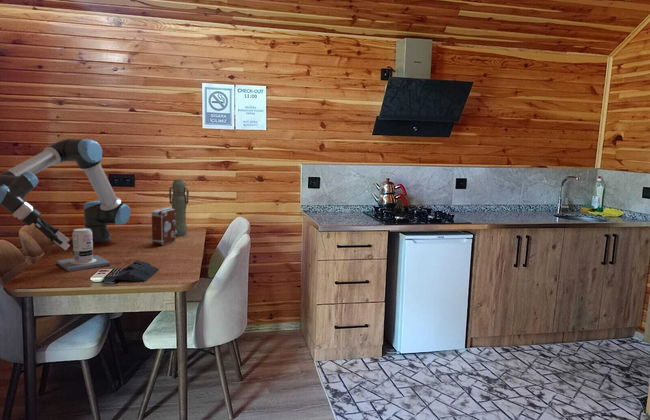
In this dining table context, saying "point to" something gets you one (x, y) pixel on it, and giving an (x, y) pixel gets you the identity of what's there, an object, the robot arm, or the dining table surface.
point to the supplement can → (82, 245)
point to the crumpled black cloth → (137, 272)
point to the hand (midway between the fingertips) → (67, 245)
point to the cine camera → (163, 226)
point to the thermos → (179, 205)
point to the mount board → (73, 266)
